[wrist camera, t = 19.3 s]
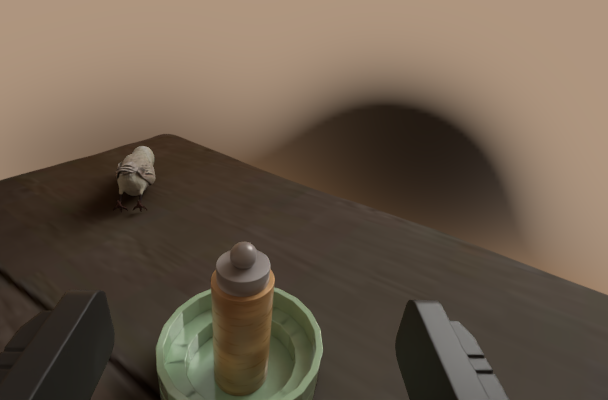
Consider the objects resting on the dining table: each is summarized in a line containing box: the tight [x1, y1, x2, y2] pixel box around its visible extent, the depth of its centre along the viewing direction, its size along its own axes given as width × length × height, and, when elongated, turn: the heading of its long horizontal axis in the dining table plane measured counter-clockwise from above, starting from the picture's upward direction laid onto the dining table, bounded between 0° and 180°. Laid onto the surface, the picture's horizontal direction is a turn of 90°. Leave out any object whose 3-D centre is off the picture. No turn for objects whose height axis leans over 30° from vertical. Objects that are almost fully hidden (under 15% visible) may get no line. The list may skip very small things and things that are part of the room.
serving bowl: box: [156, 288, 323, 400], centre depth 32 cm, size 14×14×5 cm
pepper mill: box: [211, 242, 275, 396], centre depth 30 cm, size 5×5×14 cm
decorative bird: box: [113, 146, 155, 212], centre depth 60 cm, size 5×16×8 cm, turn 11°
